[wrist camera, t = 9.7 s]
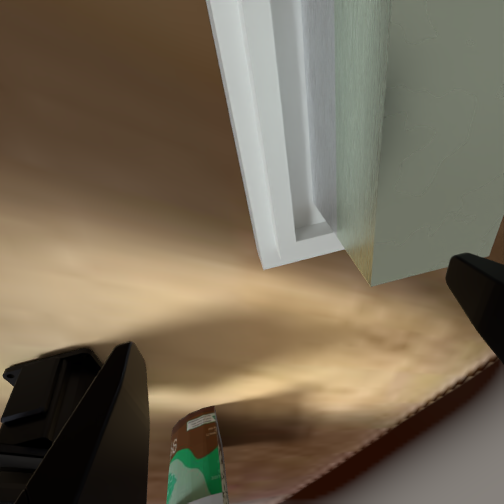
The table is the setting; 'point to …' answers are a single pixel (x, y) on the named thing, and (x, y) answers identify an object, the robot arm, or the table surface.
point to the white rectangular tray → (271, 125)
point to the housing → (406, 128)
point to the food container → (197, 461)
